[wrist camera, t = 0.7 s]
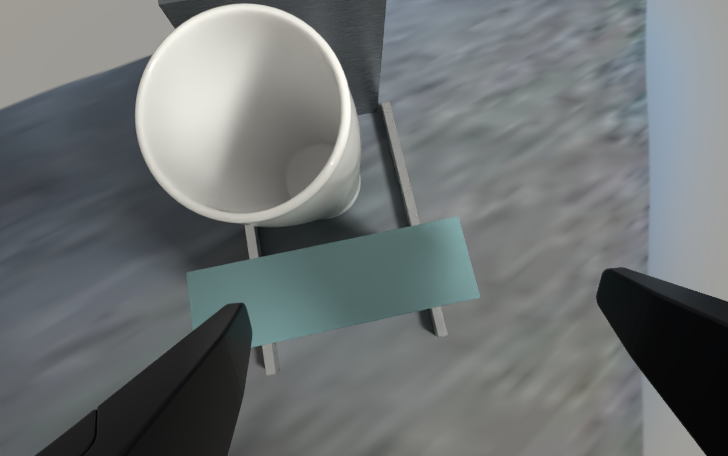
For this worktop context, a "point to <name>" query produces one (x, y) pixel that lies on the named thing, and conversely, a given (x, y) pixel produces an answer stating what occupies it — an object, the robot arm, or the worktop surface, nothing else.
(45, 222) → the worktop surface
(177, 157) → the drinking glass
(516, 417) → the worktop surface
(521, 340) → the worktop surface
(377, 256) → the block
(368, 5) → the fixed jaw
